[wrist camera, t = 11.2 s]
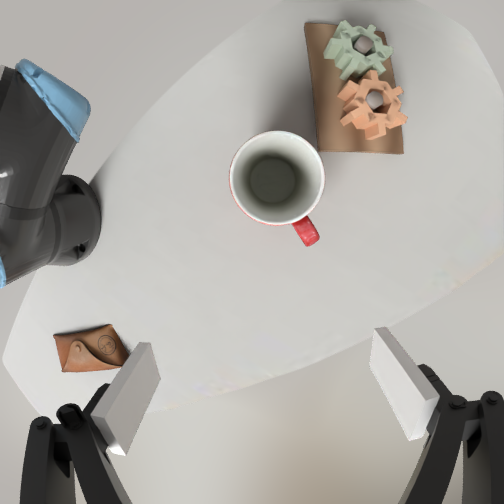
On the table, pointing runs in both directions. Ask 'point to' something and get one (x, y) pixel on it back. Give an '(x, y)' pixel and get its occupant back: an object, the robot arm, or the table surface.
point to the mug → (278, 181)
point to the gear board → (331, 107)
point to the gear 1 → (351, 59)
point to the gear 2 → (362, 112)
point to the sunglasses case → (91, 350)
